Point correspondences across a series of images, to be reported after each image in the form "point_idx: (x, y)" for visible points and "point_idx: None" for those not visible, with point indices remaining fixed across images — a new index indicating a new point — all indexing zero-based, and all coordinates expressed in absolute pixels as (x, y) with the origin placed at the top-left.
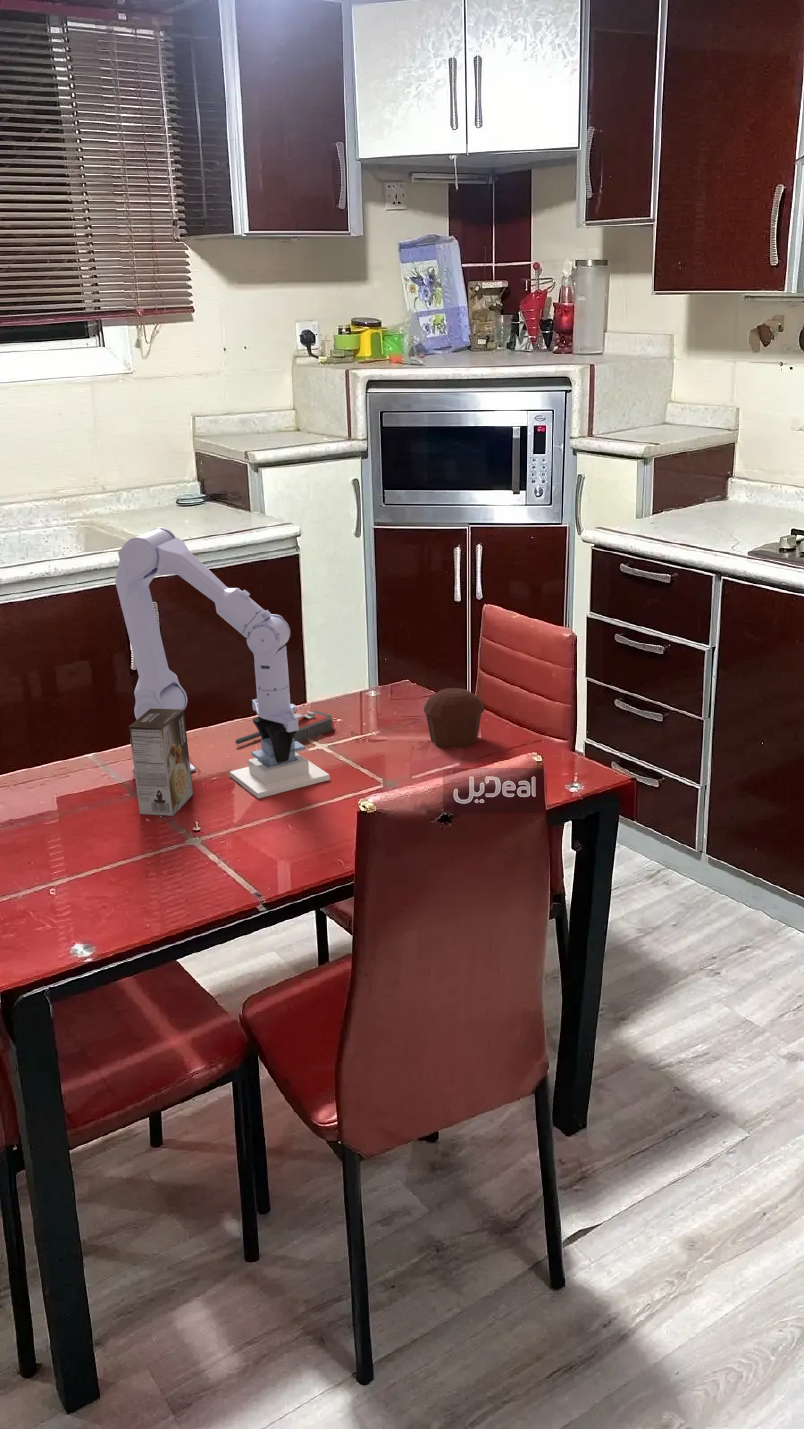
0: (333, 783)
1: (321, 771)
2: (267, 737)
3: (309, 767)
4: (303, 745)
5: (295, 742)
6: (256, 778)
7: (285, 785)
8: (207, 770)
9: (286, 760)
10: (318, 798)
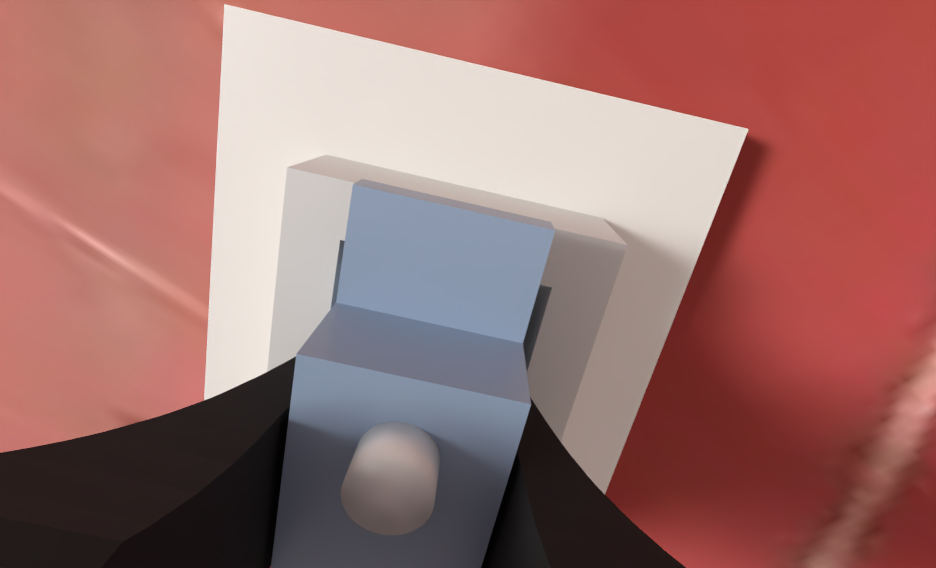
0: (794, 151)
1: (653, 129)
2: (259, 556)
3: (516, 138)
4: (526, 226)
5: (379, 223)
6: None
7: (619, 435)
8: None
9: None
10: (856, 368)
